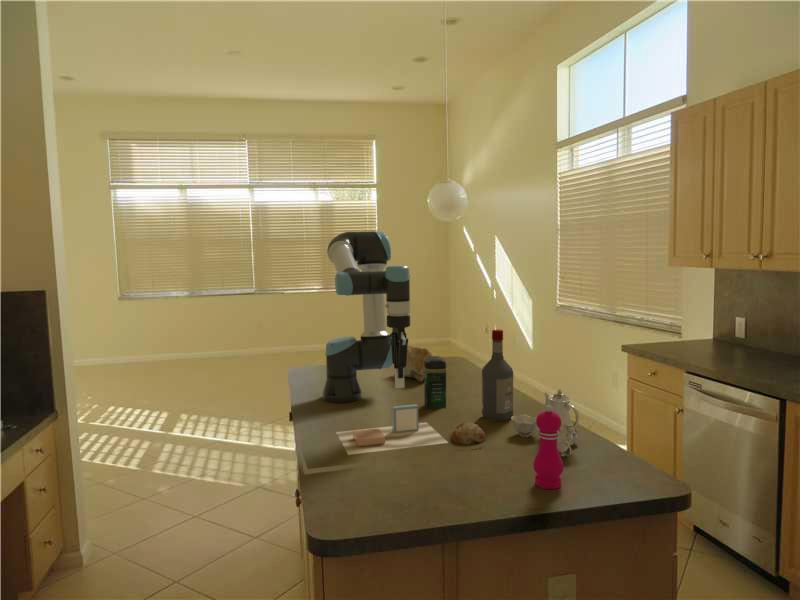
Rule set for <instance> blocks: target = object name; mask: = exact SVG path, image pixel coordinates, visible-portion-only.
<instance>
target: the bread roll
mask: <svg viewBox="0 0 800 600" xmlns="http://www.w3.org/2000/svg"><path fill="white" fill-rule="evenodd" d="M450 434H451V435H450V437H451V441H452V442H453V443H457V444H461V445H471V444H481V443H483V442H485V441H486V434H485V432H484V430H483V429H482V427H480V426H479V424H475V423H474V422H471V421H469V422H468V421H465V422H462V423H459V424H458V425H457V426H455V427H454V429H453V430H452V432H451V433H450Z"/></svg>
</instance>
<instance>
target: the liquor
mask: <svg viewBox="0 0 800 600" xmlns="http://www.w3.org/2000/svg"><path fill="white" fill-rule="evenodd" d="M503 340H504V330H503V329H492V331H491V341H492V346H491V347H492V351H491V352H492V353H491V358H490V359H489V361H488V362H486V364H485V365H484V366H483V367H482V370H481V414H482V416H483V418H484V420H489V421H493V422H506V421H507V420H510V419H511V417H512V416H514V371H513V368H512V367H511V366H510V364H509V363H508V362H507V361H506V360H505V359H504V351H503V350H504V348H503V347H504V344H503Z"/></svg>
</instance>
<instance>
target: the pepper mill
mask: <svg viewBox="0 0 800 600" xmlns="http://www.w3.org/2000/svg"><path fill="white" fill-rule="evenodd" d="M545 410H546V411H543V410H542V411H541V412H539V413H538V415H536V417H537V418H536V424H537V426H536V427H537V428H538V430H537V432H538V434H537V436H538V437H539V448H538V451H537V452H536V454H535V458H534V459H533V463H532V464H533V466H532V467H533V471H534V472H535V475H534V476H535V477H534V483H535V485H536V486H537V487H539V488H541V489H546V490H553V489H559V488H560V487H561V486H562V477H561V475H562V474H563V473H564V462H563V460H562V456H560V455H559V452H558V449H557V438H559V431H558V429H559V428H560V427H561V418H560V416H559V415H558V414H557V413H555V412H553V411H552V410H553V408H552V406H550V405H547V406H546V407H545Z"/></svg>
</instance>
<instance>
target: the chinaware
mask: <svg viewBox="0 0 800 600" xmlns="http://www.w3.org/2000/svg"><path fill="white" fill-rule="evenodd" d="M543 395H544V396H545V403H544V406H543V409H542V412H543V411H546V410H545V407H546V406H547V405H550V406H552V408H553V410H552V411H553V412H555V413H557V414H558V415H559V416H560V418H561V427H560V428H559V429H558V431H559V438H557V449H558V452H559V455H560V457H565V456H567V457H569V456H570V457H571V455H572V448H571V446H573V445H574V442H575V440H577V439H578V438H579V432H578V430H577V429H576V427H577V426H578V424H579V422H580V416H579V411H578V409H577V408H576V407H575V406H574V405H572V404H570V403H571V400H572V398H571V397H569V396H566V394H565V393H563V391H562V389H560V388H559V389H558V390H557V391H556V393H554V394H553V395H550V394H549V393H548V392H544V393H543ZM571 409H572V410H573V412H574V414H575V422H574V424H573V421H572V419H571V414H570V413H571V412H570V410H571ZM536 418H537V416H534V415H533V416H529V415H527V414H524V413H523V414H519V415H518V416H515V415H513V416H512V417H511V418H510V419H511V421H512V423H513V428H514V430H515V431H516V432H518V433H519V436H520V437H522V438H524V437H525V438H529V437H530V436H531V434H532V433H533V432H534V431H536V428H537V427H538V426H537V424H536ZM568 449H569V454H567V453H566V452H567V450H568Z"/></svg>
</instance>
